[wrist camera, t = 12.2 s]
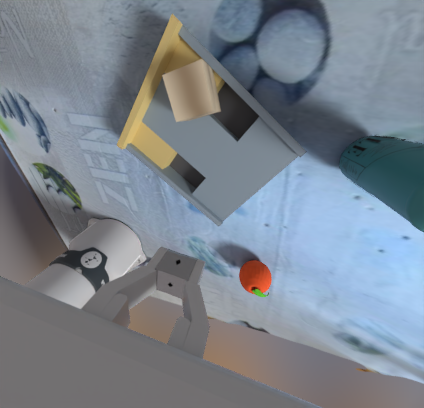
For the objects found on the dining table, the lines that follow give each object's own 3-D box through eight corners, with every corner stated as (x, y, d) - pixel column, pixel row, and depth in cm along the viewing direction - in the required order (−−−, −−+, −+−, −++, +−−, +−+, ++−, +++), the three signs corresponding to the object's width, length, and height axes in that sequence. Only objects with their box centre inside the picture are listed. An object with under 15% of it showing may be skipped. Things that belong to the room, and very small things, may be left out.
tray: (300, 146, 26) (308, 153, 22) (222, 215, 36) (217, 229, 32) (188, 31, 23) (172, 13, 19) (135, 141, 33) (116, 145, 29)
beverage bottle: (356, 184, 27) (521, 306, 10) (322, 161, 27) (435, 248, 10) (398, 148, 24) (757, 241, 7) (361, 122, 23) (637, 149, 6)
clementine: (280, 270, 39) (284, 299, 33) (257, 281, 43) (256, 308, 37) (256, 249, 38) (255, 274, 32) (234, 261, 42) (230, 287, 35)
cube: (189, 120, 26) (176, 121, 22) (179, 81, 24) (162, 75, 19) (221, 111, 24) (213, 111, 20) (212, 69, 22) (202, 58, 18)
